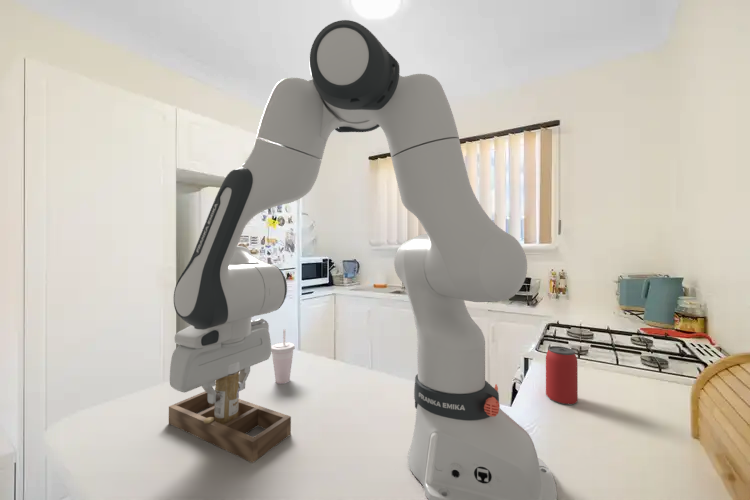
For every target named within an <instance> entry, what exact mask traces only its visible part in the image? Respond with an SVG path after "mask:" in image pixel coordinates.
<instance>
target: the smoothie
mask: <svg viewBox="0 0 750 500" xmlns="http://www.w3.org/2000/svg"><path fill="white" fill-rule="evenodd" d="M282 336H283V337H282V339H283V340H282V342H278V343H274V344H271V356H272V362H273V363H272V364H273V370H274V371H273V372H274V381H275V383H276V384H279V385H280V384H281V385H282V384H283V385H284V384H287V383H288V382H290V380H291V372H292V364H293V356H294V350H295V344H294V343H293V342H287V341H286V329H285V328H284V329H283V335H282Z"/></svg>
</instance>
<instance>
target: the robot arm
mask: <svg viewBox="0 0 750 500" xmlns="http://www.w3.org/2000/svg"><path fill="white" fill-rule="evenodd" d="M308 63H309V64H308V65H309V71H310V76H311V79H307V80H306V79H305V78H301V77H286V78H283V79H281V80H280V81H278V82H277V83H276V84H275V85H274V87H273V89H272V91H271V93H270V95H269V98H268V100H267V103H266V105H265V107H264V110H263V114H262V115H261V119H260V122H259V124H258V125H259V126H258V129H257V134H256V137H255V138H256V139H255V141H254V144H253V148H252V149H251V152H250V154H249V155H248V157H247V158H246V160H245V161H244V163H242V165H241V166H240V167H239V168H235V169H232V170H230V171H229V173H227V175H226V176H225V178H224V180H223V181H222V183H221V185H220V188H219V189H218V192H217V194H216V196H215V199H214V201H213V204H212V206H211V208H210V211H209V212H208V216H207V217H206V220H205V223H204V225H203V228H202V231H201V233H200V236H199V237H198V241H197V243H196V246H195V248H194V250H193V252H192V255H191V258H190V260H189V261H188V264H187V265H186V266H185V269H184V270H183V271H182V273H181V275H180V276H179V278H178V280H177V282H176V284H175V287H174V291H173V307H174V310H175V313H176V314H177V315H178V317H179V318H181V319H182V320H183V321H184V322H186V323H187V324H188V325H189V326H187V327H185V328H183V329H181V330H179V331H178V332H175V335H174V343H175V344H176V345H178V346H177V347H176V348H175V349H174V351H173V352H172V355H171V360H170V367H169V385H170V387H172V388H173V389H174V390H175V391H177V392H180V393H185V394H186V393H187V392H190V391H192V390H195V389H197V388H200V387H201V388H202V389H203V390H204V391H206V393H208V403H211V404H214V403H216V402H218V401H220V392H219V391H216V390H215V388H214V387H216V386H215V385H216V380H218V379H220V378H223V377H225V376H227V374H228V367H229V365H231V364H234V363H237V362H239V363H240V370H239V392H241V391H243V390H245V389H246V381H247V379H248V377H249V375H250V373H251V367H253V366H256V365H258V364H260V363H263V362H265V361H267V360H269V359H270V357H271V356H272V352H271V346H272V342H271V335H270V332H269V330H270V329H269V328H270V327H269V326H270V325H269V322H268V321H267V320H266V319H264V318H259V319H256V320H252V318H253V317H257V316H261V315H265V314H270V313H273V312H275V311H277V310H279V309H280V308H281V307H282V305H283V304H284V302H285V300H286V297H287V294H288V283H287V278H286V277H285V275H284V273H283V271H282V269H280V268H279V267H278V266H277V265H274V264H270V263H268V262H265V261H262V260H260V259H258V258H256V257H255V256H254V255H253V254H252V253H251V251H250V249H249V248H248V247H245V246H243V245H239V242H240V240H241V237H242V235H243V233H244V230H245V228H246V226H247V225H248V223H249V222H250V221H251V220H252V219H253V218H255V216H257V215H259V214H260V213H262V212H265V211H267V210H269V209H271V208H272V209H273V208H274V207H278V206H283V205H287V204H291V203H293V202H296V201H298V200H300V199H302V198H303V197H305V196H307V194H309V193H310V191H312V189H313V187H314V186H315V183H316V181H317V179H318V175H319V172H320V168H321V164H322V160H323V157H324V153H325V149H326V146H327V142H328V139H329V137H330V135H331V133H333V132H334V131H336V132H337V133H366V132H372V131H375V130H377V129H378V128H381V129H382V130H383V132H384V135H385V137H386V141H387V146H388V149H389V153H390V158H391V161H392V166H393V170H394V174H395V179H396V183H397V187H398V191H399V196H400V199H401V203H402V204H403V206H404V207H405V209H406V210H407V211H409V212H410V213H411V214H412V215H414V217H416V218H417V220H418V221H419V222H420V224H421V226H422V227H423V229H424V231H425V233H423V234H420V235H419V234H418V235H416V236H414V237H411V238H410V239H408V240H406V241H404V242H403V243H402V244H400V245H399V247H398V248H397V251H396V252H395V256H394V259H393V261H394V262H393V265H394V270H395V273H396V275H397V277H398V279H399V280H400V281H401V283H402V284H403V286H404V289H405V291H406V293H407V296H408V300H409V304H410V307H411V311H412V315H413V319H414V324H415V330H416V347H417V349H416V350H417V352H416V353H417V374H416V375H415V377H414V389H413V390H414V391H413V397H414V398H413V399H414V408H415V409H416V410H415V411H416V412H415V420H414V421H415V422H414V429H413V434H412V435H413V436H412V439H411V444H410V448H409V451H408V453H407V454H408V455H407V463H408V467H409V469H410V471H411V473H412V474H413V475H414V477H415V478H416V479H417V480H418V481H419V482H420V483H421V485H422V487H423V489H424V493H425V495H426V497H427V499H428V500H558V494H557V493H558V492H557V487H556V486H557V485H556V482H555V481H556V480H555V478H554V476H553V473H552V472H551V469H550V468H549V466H548V465H547V464H546V463H545V462H544V460H542V458H539V457H538V454H537V450H536V448H535V447H536V446H535V444H534V441H533V439H532V437H531V435H530V434H529V433H528V431H527V430H526V429H525V428H523V427H522V426H521V425H520V424H519V423H517V422H516V421H514V419H513V418H512V417H510V415H508V414H507V413H506V412H505V411H504V410H503V409H501V408H500V395H499V387H498V384H496V383H495V386H494V387H493V386H492V385H491V384H490V383H489V382H488V381H487V380H486V339H485V334H484V333H483V330H482V329H481V327H480V326H479V325H478V324H477V323H476V322H475V320H474V319H473V318H472V316H471V315H470V313H469V311H468V307H467V306H466V303H465V301H469V302H474V303H489V302H493V303H494V302H500V301H501V302H503V301H507V300H510V299H511V298H514V297H515V295H516V294H517V293H518V292H519V291H520V290H521V288H522V286H523V285H524V284H525V281H526V278H527V275H528V274H527V273H528V260H527V256H526V253H525V250H524V248H523V247H522V245H521V243H520V242H519V240H518V239H517V238H515V237H514V236H513V235H512V234H510V233H508V232H506V230H503V229H502V228H501V227H499V226H498V225H497V223H495V222H494V221H493V220H492V219H491V217H489V216H488V213H487V212H486V211H485V210H484V208H483V207H482V205H481V204H480V202H479V200H478V198H477V196H476V194H475V193H474V190H473V187H472V185H471V182H470V178H469V175H468V172H467V167H466V163H465V160H464V159H465V158H464V155H463V150H462V146H461V141H460V136H459V133H458V132H459V131H458V128H457V124H456V121H455V117H454V114H453V111H452V108H451V105H450V103H449V100H448V98H447V95H446V92H445V90H444V88H443V85H442V84H441V82H440V81H439V80H438V79H437V78H435V76H432V75H430V74H426V73H415V74H414V73H413V74H410V75H405V76H401V75H400V63H399V61H398V60H397V59H396V58H395V57H394V56H393V55H392V53H390V52H389V50H387V49H386V48H385V46H384V45H383V44H382V43H381V42H380V39H378V37H376V35H374V34H373V33H372V31H370V30H369V29H368V28H367V27H365V25H363V24H361V23H359V22H356V21H353V20H350V19H341V20H337V21H334V22H332V23H329V24H327V25H326V26H325V27H324V28H322V29H321V31H319V33H318V34H317V35H316V37H314V40H313V42H312V45H311V49H310V52H309V62H308Z"/></svg>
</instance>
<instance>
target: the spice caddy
mask: <svg viewBox="0 0 750 500" xmlns="http://www.w3.org/2000/svg"><path fill="white" fill-rule="evenodd" d="M214 410H215V403H214V404H211V403H208V393H206V391H205V390H204V391H202V392H199V393H198V394H195V395H193V396H190V397H188V398H185V399H183V400H181V401H179V402H177V403H174V404H172V405H169V406H168V424H169V425H171V426H173V427H175V428H178V429H180V430H181V431H184V432H186V433H188V434H190V435H192V436H195V437H196V438H198V439H200V440H203V441H206V442H207V443H209V444H211V445H214V446H216V447H217V448H220V449H222V450H224V451H226V452H228V453H231V454H233V455H235V456H237V457H240V458H242V459H243V460H246V461H247V462H249V463H252V464H253V463H254V462H256V461H257V460H259V459H260V458H261V457H262V456H264V455H266V454H267V453H268V452H269V451H271V450H272V449H274V448H275V447H276V446H277V445H279V444H280V443H281V442H283V441H284V440H285V439H287V438H288V437H289V436H291V435H292V433H291V427H292V416H291V415H287V414H286V413H285V414H284V413H282V412H279V411H276V410H273V409H270V408H267V407H264V406H262V405H258V404H255V403H253V402H249V401H246V400H243V399H240V398H239V408H238V417H237V418H235V419H233V420H231V421H229V422H228V423H226V424H224V425H223V424H220V423H218V422H215V415H214ZM257 427H259V428H262V429H264V430H262V431H260V432H259V433H257V434H256V435H254V436H251V435H249V434H247V433H249V432H250V431H252V430H254V429H255V428H257Z"/></svg>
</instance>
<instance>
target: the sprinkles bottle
mask: <svg viewBox="0 0 750 500" xmlns="http://www.w3.org/2000/svg"><path fill="white" fill-rule="evenodd" d="M239 370H240V363H239V362H237V363H234V364H231V365H229V367H228V374H227V376H225V377H223V378H220V379H218V380H215V386H214V390H216V391H219V392H220V401H218V402H216V403H215V410H214V415H215V422H218V423H220V424H223V425H224V424H226V423H228V422H229V421H231V420H233V419H235V418H237V417H238V408H239V399H240V398H239V397H240V395H239V393H240V391H239V373H240V372H239Z"/></svg>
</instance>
